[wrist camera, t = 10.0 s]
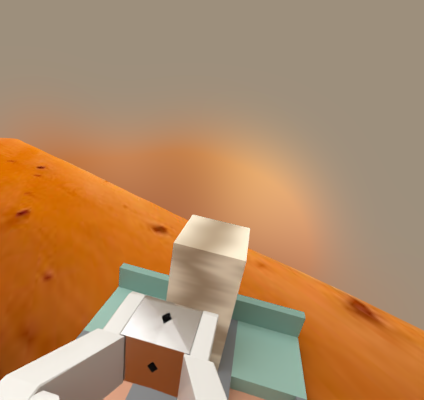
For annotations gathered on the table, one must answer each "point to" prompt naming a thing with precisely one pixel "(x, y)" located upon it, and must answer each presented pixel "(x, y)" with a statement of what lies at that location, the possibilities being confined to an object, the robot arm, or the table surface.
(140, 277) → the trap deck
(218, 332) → the maple block
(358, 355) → the table surface
